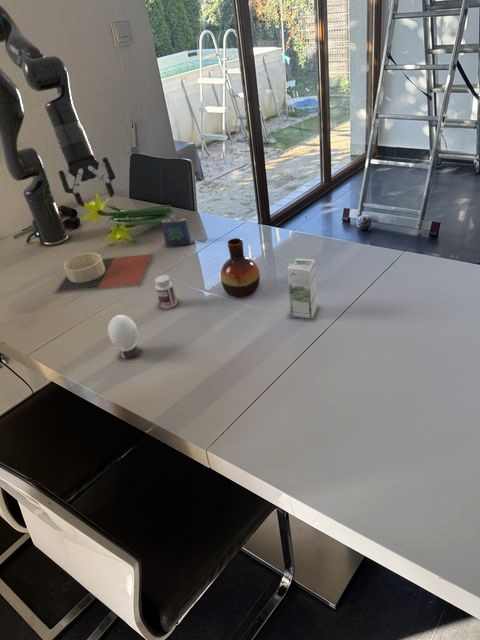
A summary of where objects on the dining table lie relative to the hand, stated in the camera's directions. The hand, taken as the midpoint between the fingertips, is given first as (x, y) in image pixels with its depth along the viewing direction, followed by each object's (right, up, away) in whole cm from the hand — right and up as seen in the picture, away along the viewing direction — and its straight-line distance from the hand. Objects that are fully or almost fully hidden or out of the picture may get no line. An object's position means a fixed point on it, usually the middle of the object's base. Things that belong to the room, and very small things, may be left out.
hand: (97, 201), depth 136 cm
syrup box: (+58, -33, -11) cm, 68 cm away
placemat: (-4, -17, +19) cm, 26 cm away
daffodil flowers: (0, +1, +43) cm, 43 cm away
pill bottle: (+21, -30, -1) cm, 36 cm away
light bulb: (+14, -44, -18) cm, 49 cm away
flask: (+18, -6, +31) cm, 37 cm away
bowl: (-10, -18, +19) cm, 28 cm away
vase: (+42, -26, +1) cm, 49 cm away
